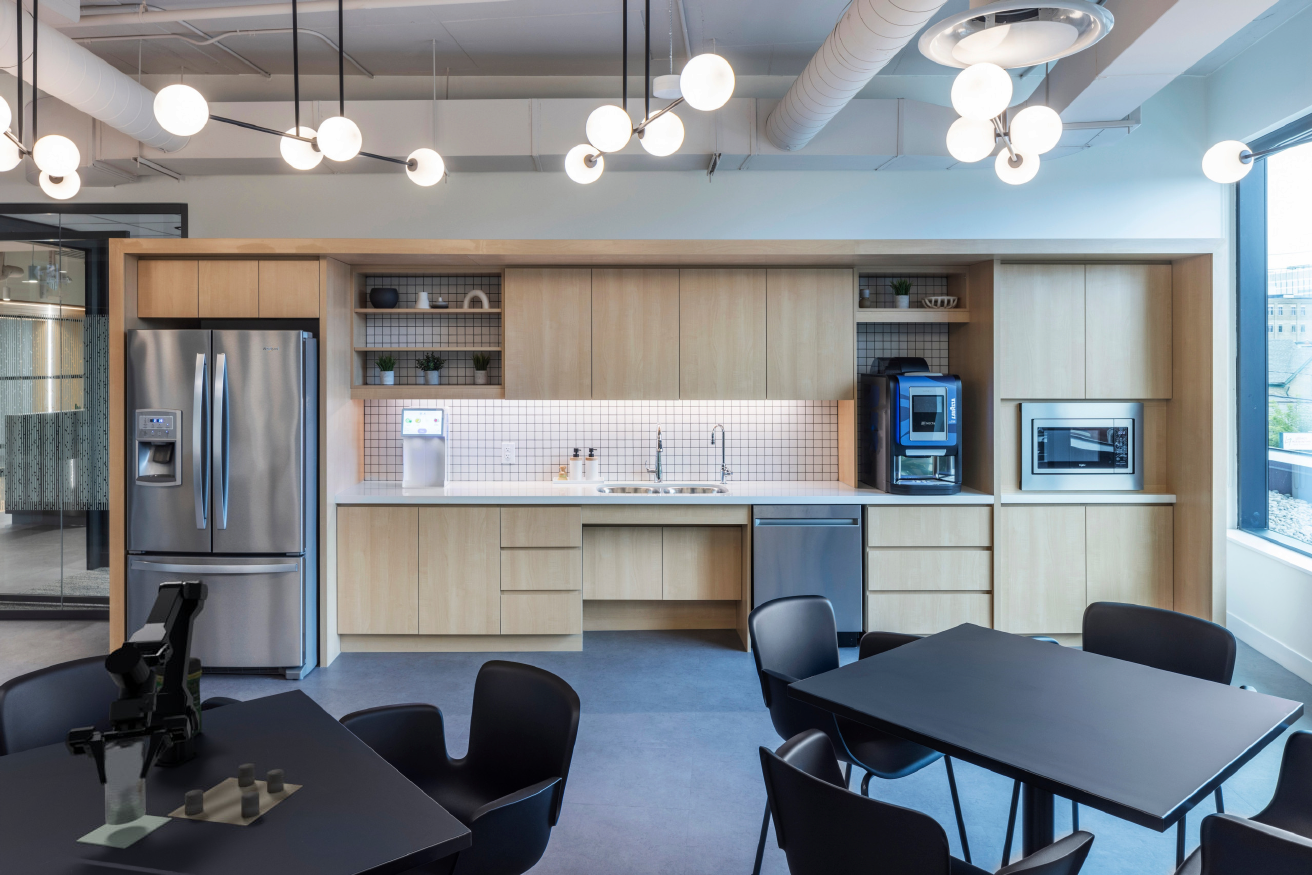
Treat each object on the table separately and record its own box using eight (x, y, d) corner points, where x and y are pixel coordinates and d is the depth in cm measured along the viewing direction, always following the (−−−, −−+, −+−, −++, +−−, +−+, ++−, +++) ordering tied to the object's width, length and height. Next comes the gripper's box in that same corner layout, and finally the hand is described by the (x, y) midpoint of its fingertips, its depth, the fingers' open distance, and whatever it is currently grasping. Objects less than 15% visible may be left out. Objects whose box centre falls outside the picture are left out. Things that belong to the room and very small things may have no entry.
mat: (166, 818, 146) (166, 796, 146) (229, 780, 161) (229, 760, 161) (246, 828, 142) (246, 806, 142) (303, 788, 158) (303, 768, 158)
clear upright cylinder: (99, 818, 140) (98, 746, 140) (137, 804, 145) (136, 735, 144) (113, 828, 136) (112, 754, 136) (151, 814, 141) (150, 743, 141)
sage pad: (76, 844, 137) (76, 840, 136) (125, 816, 146) (125, 812, 146) (124, 851, 135) (124, 846, 134) (171, 822, 144) (171, 818, 144)
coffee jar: (208, 731, 187) (208, 654, 187) (178, 744, 179) (178, 663, 179) (179, 725, 190) (178, 649, 190) (148, 738, 183) (147, 659, 182)
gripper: (67, 685, 140) (48, 772, 130) (187, 672, 147) (178, 753, 137) (80, 713, 147) (63, 797, 137) (194, 699, 155) (186, 778, 145)
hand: (123, 781), depth 139 cm, fingers closed on clear upright cylinder, 6 cm apart
